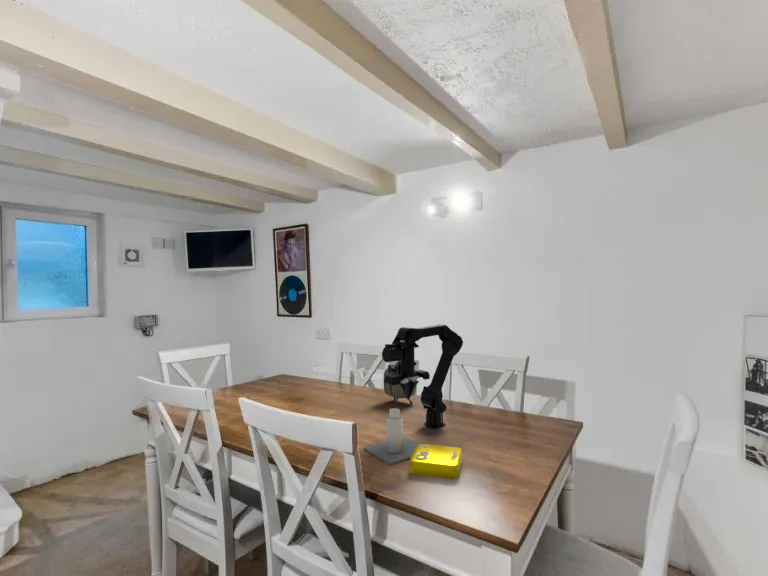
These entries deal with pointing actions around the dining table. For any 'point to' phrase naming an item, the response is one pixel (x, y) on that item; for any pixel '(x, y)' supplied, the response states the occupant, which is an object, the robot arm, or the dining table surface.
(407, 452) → the slate mat
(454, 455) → the element tile
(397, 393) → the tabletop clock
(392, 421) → the white bottle
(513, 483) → the dining table surface
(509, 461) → the dining table surface
